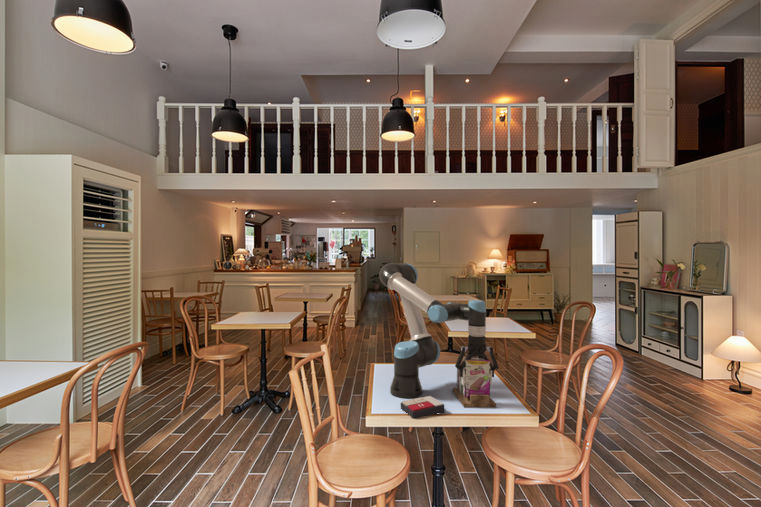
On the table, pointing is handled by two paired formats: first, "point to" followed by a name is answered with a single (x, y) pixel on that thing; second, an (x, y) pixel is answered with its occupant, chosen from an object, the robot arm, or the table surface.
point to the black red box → (422, 407)
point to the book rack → (471, 397)
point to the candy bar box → (477, 377)
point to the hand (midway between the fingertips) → (476, 384)
